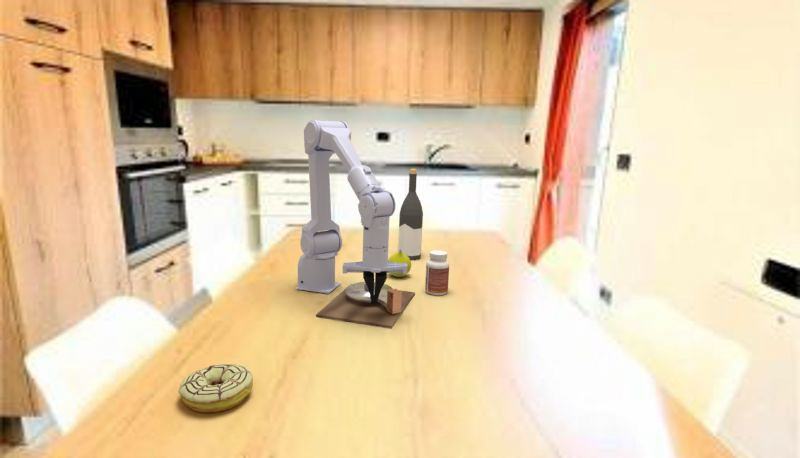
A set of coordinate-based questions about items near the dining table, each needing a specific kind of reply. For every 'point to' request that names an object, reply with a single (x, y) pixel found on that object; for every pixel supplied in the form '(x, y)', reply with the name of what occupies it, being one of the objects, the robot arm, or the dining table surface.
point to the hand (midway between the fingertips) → (374, 302)
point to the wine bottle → (411, 222)
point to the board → (363, 311)
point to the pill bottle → (437, 273)
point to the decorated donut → (216, 387)
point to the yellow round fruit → (400, 258)
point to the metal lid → (386, 297)
